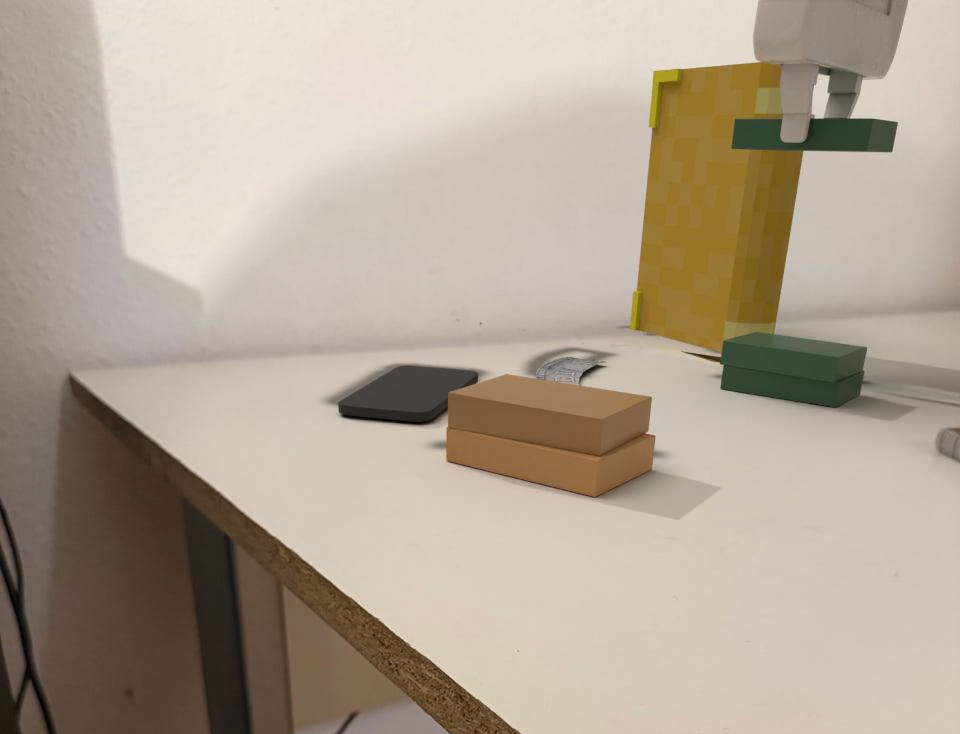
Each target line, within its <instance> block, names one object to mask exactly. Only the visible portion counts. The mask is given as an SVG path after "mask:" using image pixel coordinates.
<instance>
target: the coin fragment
mask: <svg viewBox="0 0 960 734" xmlns="http://www.w3.org/2000/svg"><path fill="white" fill-rule="evenodd" d="M599 364H607V361H604V360H597V359H595V358H593V359H585V358H578V357H573V356H562V357H559V358H555V359H552V360H551V361H547V362H545V363H544V364H542V365H540V367H539V368H538V369H537V370H536V373H535V378H536V379H542V380H548V381H554V382H561V383H567V384H574V385H580V383H579V382H580V378H581V376H582V375H583V373H584V372H586V371H587V370H589V369H591V368H593V367H595V366H596V365H599Z"/></svg>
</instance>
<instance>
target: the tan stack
mask: <svg viewBox="0 0 960 734" xmlns="http://www.w3.org/2000/svg"><path fill="white" fill-rule="evenodd" d="M652 403H653V396H650V395H643V394H637V393H630V392H624V391H618V390H611V389H607V388H606V389H604V388H599V387H592V386H586V385H580V384H579V385H574V384H567V383H561V382H554V381H548V380H542V379H537V378H536V377H535V378H534V377H528V376H522V375H516V374H509V373H505V374H502V375H499V376H496V377H493V378H490V379H489V378H488V379H486V380H484V381H480V382H477V383H476V384H473V385H470V386H467V387H464V388H461V389H457V390H454V391H451V392H448V407H447V426H446V432H445V433H446V439H445V440H446V442H445V443H446V446H445V450H446V451H445V455H446V456H445V458H446V459H445V461H446V462H450V463H454V464H459V465H462V466H466V467H471V468H474V469H479V470H483V471H487V472H491V473H496V474H499V475H503V476H507V477H511V478H515V479H520V480H524V481H528V482H532V483H536V484H540V485H544V486H548V487H552V488H556V489H560V490H564V491H567V492H568V491H569V492H573V493H577V494H581V495H584V496H590V497H592V498H597V497H598V496H600V495H603V494H604V493H606V492H608V491H610V490H613V489H614V488H617V487H618V486H621V485H622V484H625V483H627V482H629V481H631V480H633V479H635V478H637V477H639V476H641V475H643V474H645V473H647V472H650V471H652V470H653V464H654V455H655V447H656V439H657V436H656V435H655V434H651V433H648V432H649V429H650V420H651V411H652Z"/></svg>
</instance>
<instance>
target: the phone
mask: <svg viewBox="0 0 960 734" xmlns="http://www.w3.org/2000/svg"><path fill="white" fill-rule="evenodd" d="M476 383H479V372H477V371H476V370H475V371H474V370H469V369H458V368H457V369H456V368H446V367H434V366H422V365H421V366H420V365H400V366H396V367H394V368H392V369H391V370H389V371H387V372H386V373H384V374H383V375H381V376H379V377H378V378H376V379H375V380H372V381H370V382H369V383H368V384H366V385H364V386H363V387H361V388H359V389H358V390H356V391H354V392H352V393H351V394H349V395H347V396H346V397H344V398H342V399H341V400H339V402H338V403H337V405H338V413H339V414H341V415H345V416H352V417H360V418H370V419H371V418H372V419H382V420H392V421H401V422H402V421H403V422H415V423H421V422H429V421H431V420H433V419H434V418H436V417H437V416H438V415H439V414H441V413H442V412H444V410H446V409H448V392H451V391H454V390H457V389H461V388H464V387H467V386H470V385H473V384H476Z"/></svg>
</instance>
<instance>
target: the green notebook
mask: <svg viewBox="0 0 960 734" xmlns="http://www.w3.org/2000/svg"><path fill="white" fill-rule="evenodd" d="M782 120H783V118H752V119H735V123H734V131H733V139H732V147H731V148H732V149H744V150H776V151H803V152H833V153H835V152H837V153H839V152H840V153H843V152H845V153H889V154H890V153H893V150H894V145H895V140H896V135H897V131H898V126H899V122H898V121H894V120H887V119H881V118H871V117H870V118H866V117H865V118H861V117H860V118H859V117H858V118H855V117H854V118H852V117H850V118H823V117H821V118H819V117H818V118H816V117H815V118H814V123H813V128H812V135H811V138H810V140H809V141H808V142H806V143H787V142H783V141H782V140H781V137H780V134H781V127H782Z"/></svg>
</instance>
